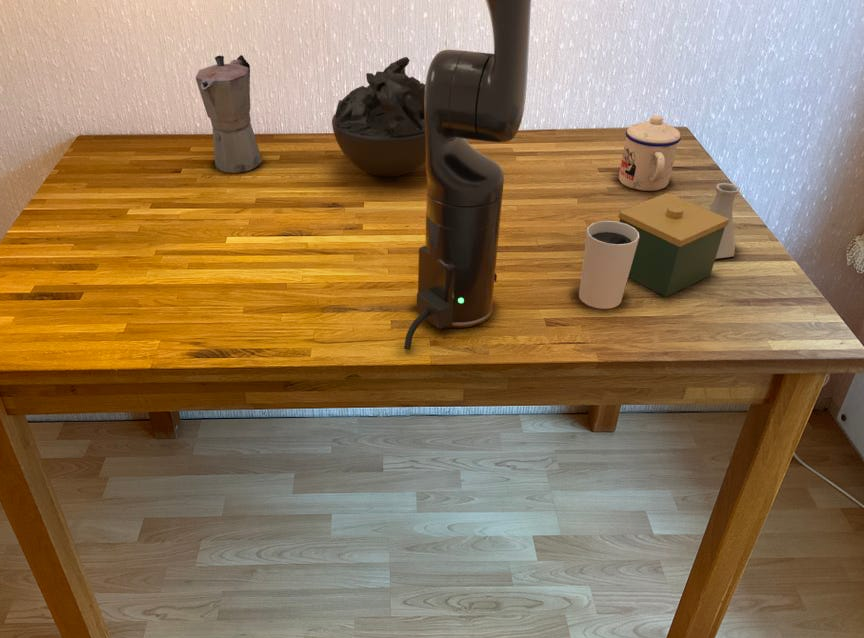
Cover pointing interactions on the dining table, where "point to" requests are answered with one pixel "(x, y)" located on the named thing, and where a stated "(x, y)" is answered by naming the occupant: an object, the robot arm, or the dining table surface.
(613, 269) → the white tumbler cup
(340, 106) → the bowl of black rocks
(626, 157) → the teacup with lid
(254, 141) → the moka pot
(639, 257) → the tea tin
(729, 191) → the flask
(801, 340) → the dining table surface
